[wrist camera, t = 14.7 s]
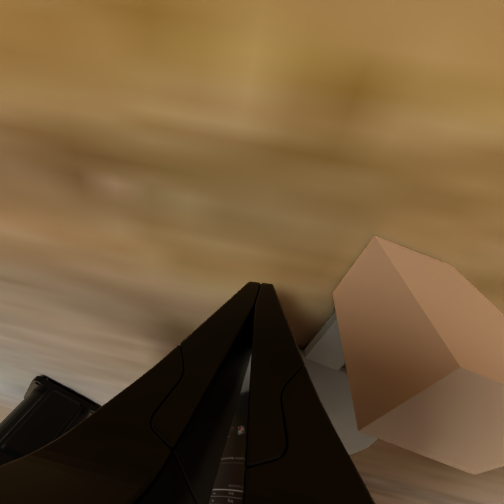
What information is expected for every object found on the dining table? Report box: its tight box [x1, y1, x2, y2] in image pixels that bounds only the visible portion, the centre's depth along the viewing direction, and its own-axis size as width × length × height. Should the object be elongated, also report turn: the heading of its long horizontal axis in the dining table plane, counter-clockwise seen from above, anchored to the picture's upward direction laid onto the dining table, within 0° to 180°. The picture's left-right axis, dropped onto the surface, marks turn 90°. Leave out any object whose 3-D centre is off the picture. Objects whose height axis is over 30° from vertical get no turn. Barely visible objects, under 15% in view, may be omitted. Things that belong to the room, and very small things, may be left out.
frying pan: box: [240, 236, 504, 475], centre depth 11 cm, size 16×18×5 cm
